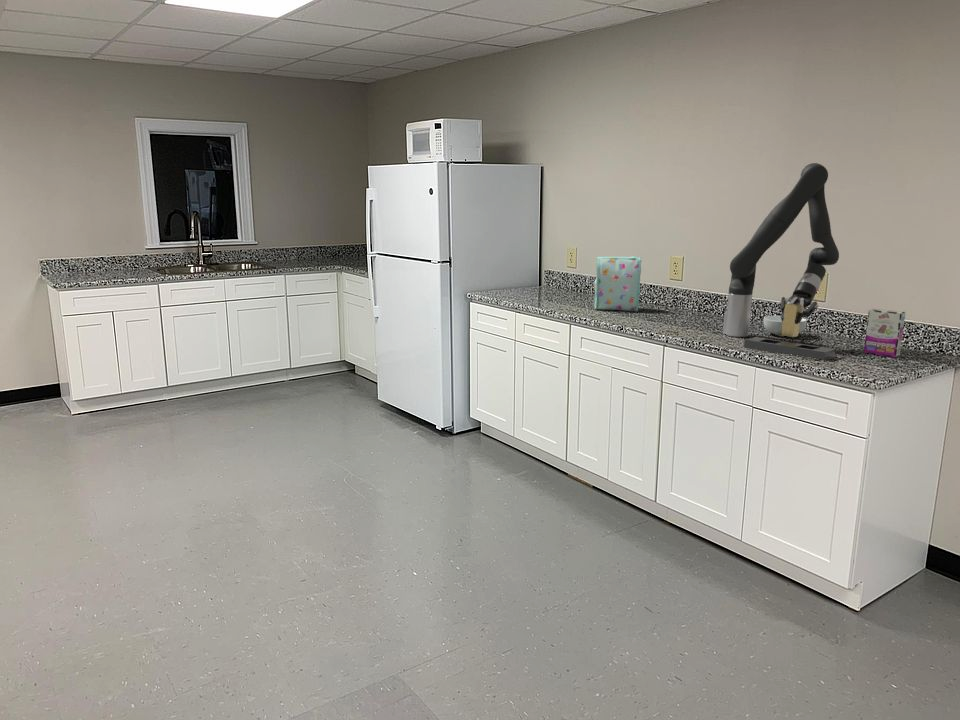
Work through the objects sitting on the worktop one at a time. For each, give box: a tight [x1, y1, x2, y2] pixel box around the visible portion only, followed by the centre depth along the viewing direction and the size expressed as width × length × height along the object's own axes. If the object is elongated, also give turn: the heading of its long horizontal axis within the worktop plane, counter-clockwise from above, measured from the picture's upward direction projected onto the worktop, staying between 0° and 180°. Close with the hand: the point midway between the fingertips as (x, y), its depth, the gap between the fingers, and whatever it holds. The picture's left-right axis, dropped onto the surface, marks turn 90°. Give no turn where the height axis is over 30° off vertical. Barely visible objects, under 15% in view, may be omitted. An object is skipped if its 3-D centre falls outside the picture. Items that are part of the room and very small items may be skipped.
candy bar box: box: [863, 308, 906, 358], centre depth 269 cm, size 11×5×16 cm, turn 45°
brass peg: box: [781, 302, 802, 338], centre depth 279 cm, size 4×4×12 cm
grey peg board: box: [743, 336, 837, 361], centre depth 271 cm, size 30×9×3 cm, turn 43°
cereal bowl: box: [763, 315, 808, 338], centre depth 307 cm, size 17×17×7 cm
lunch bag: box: [593, 255, 642, 312], centre depth 371 cm, size 23×16×27 cm
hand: (789, 321), depth 278 cm, fingers closed on brass peg, 4 cm apart
